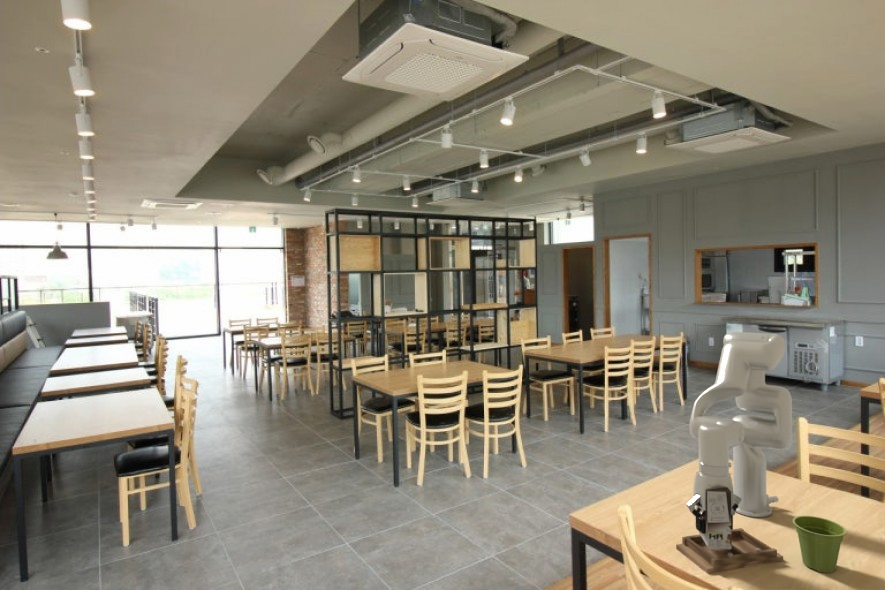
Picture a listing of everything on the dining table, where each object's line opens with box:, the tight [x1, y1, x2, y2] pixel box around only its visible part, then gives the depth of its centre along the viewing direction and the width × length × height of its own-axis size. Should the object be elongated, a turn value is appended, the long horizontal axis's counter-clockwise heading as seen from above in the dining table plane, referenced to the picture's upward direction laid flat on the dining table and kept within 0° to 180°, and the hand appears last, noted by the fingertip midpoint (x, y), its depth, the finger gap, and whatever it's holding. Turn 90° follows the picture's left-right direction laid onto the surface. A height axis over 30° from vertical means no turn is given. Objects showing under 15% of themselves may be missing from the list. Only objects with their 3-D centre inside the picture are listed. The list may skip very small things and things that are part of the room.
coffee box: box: [698, 487, 732, 549], centre depth 148 cm, size 9×6×16 cm
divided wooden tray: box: [675, 527, 784, 574], centre depth 149 cm, size 24×13×4 cm, turn 102°
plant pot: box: [792, 515, 847, 573], centre depth 142 cm, size 12×12×11 cm
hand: (714, 529), depth 148 cm, fingers closed on coffee box, 8 cm apart
